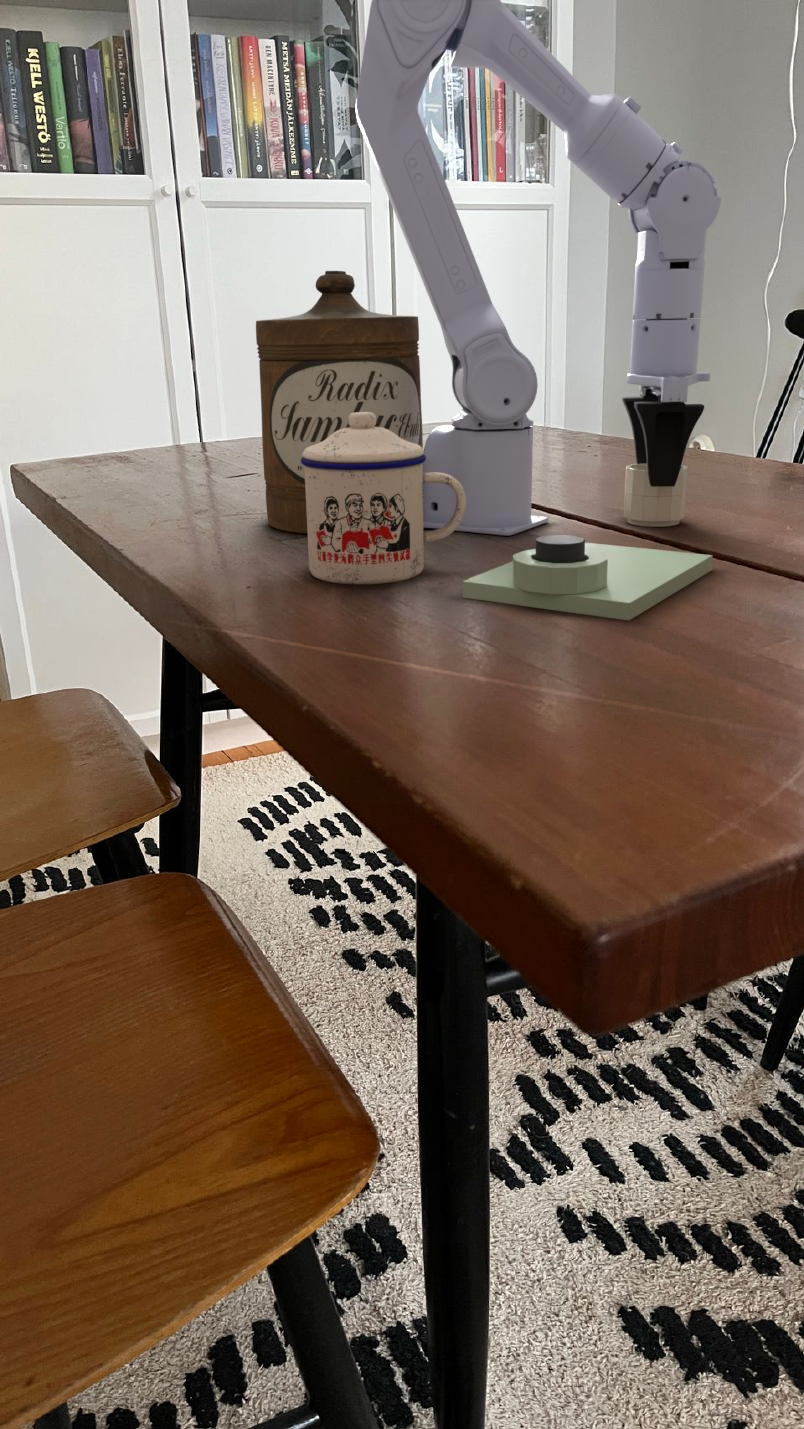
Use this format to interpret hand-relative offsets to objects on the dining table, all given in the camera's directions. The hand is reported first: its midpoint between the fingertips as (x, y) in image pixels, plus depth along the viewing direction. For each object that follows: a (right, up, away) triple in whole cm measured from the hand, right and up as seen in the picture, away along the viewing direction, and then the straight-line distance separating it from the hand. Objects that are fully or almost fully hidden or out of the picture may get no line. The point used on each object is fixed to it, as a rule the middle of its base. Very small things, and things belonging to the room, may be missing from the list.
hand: (656, 479), depth 96 cm
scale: (-10, -12, -21) cm, 26 cm away
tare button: (-13, -11, -26) cm, 31 cm away
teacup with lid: (-24, -11, -16) cm, 31 cm away
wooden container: (-28, -3, +5) cm, 29 cm away
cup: (0, -4, +1) cm, 4 cm away
